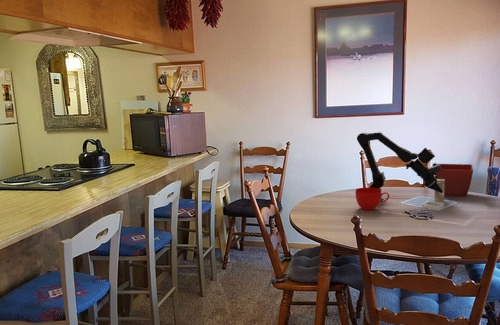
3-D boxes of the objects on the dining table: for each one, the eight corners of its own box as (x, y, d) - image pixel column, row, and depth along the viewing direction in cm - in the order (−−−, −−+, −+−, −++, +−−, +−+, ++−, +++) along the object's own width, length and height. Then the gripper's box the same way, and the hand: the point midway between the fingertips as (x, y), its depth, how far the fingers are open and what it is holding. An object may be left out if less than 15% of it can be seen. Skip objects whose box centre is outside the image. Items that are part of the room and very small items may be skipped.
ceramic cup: (391, 212, 197) (391, 193, 195) (356, 212, 200) (356, 193, 198) (387, 205, 209) (387, 187, 208) (354, 205, 213) (354, 187, 211)
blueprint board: (438, 212, 193) (438, 210, 192) (398, 204, 210) (398, 202, 210) (459, 204, 206) (459, 202, 205) (420, 197, 223) (420, 195, 223)
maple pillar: (434, 202, 207) (435, 180, 205) (434, 200, 211) (435, 179, 209) (443, 203, 205) (444, 181, 203) (443, 201, 209) (444, 179, 207)
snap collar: (421, 206, 201) (422, 204, 200) (427, 203, 206) (427, 200, 206) (438, 209, 195) (438, 206, 195) (444, 205, 201) (444, 202, 201)
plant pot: (433, 197, 221) (434, 168, 219) (435, 190, 238) (435, 163, 235) (472, 200, 212) (473, 170, 210) (471, 192, 229) (472, 164, 227)
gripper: (431, 161, 198) (455, 184, 195) (432, 156, 215) (454, 177, 212) (414, 176, 203) (437, 198, 200) (416, 170, 219) (437, 190, 216)
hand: (442, 190), depth 207 cm, fingers open, 9 cm apart
